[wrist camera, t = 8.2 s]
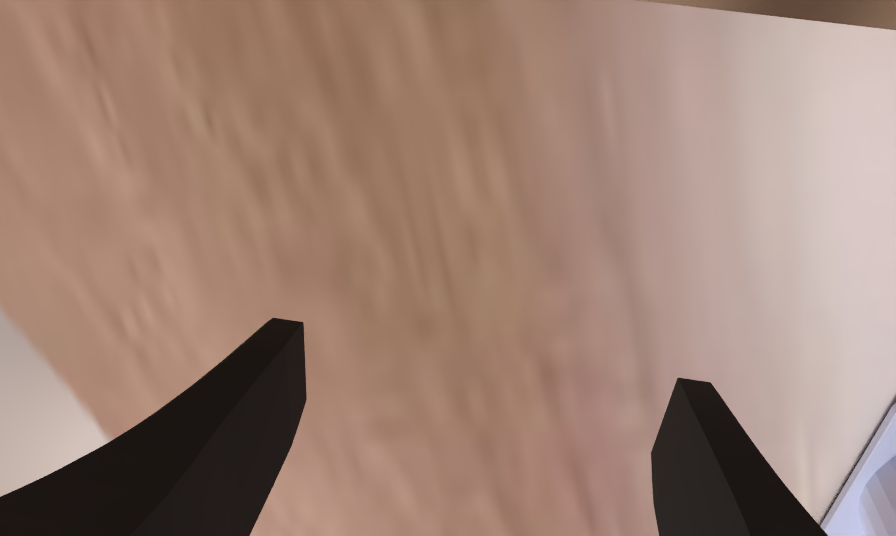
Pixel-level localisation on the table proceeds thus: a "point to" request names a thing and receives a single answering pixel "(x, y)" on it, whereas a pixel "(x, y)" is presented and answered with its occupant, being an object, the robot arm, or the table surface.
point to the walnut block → (809, 10)
